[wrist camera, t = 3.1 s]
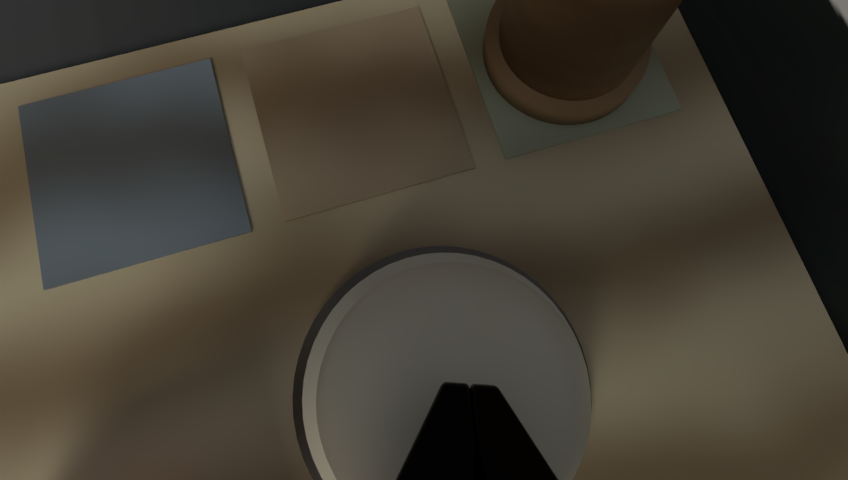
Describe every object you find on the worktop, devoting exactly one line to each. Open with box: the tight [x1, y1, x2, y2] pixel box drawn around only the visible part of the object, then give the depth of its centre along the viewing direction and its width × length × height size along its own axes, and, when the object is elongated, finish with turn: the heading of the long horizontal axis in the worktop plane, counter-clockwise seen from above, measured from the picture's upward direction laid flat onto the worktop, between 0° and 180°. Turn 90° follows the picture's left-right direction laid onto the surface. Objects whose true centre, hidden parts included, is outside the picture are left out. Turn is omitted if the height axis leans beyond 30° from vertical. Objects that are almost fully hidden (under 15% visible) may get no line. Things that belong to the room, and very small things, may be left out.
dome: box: [302, 252, 592, 480], centre depth 11 cm, size 7×7×6 cm
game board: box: [0, 0, 848, 480], centre depth 16 cm, size 20×25×2 cm
